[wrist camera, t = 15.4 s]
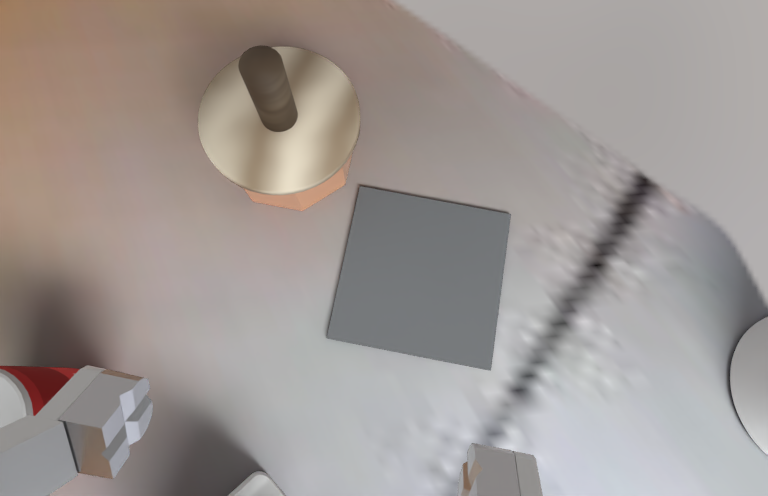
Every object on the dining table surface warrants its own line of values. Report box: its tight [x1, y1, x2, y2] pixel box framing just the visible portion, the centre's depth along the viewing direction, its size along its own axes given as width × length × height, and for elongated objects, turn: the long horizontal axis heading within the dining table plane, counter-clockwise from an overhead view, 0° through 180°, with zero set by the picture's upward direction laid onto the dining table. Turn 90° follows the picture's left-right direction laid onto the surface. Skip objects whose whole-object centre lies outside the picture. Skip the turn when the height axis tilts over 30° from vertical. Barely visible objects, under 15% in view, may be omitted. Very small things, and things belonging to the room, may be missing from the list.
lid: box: [198, 46, 360, 195], centre depth 38 cm, size 14×14×8 cm
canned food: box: [0, 366, 80, 428], centre depth 36 cm, size 8×8×11 cm
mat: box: [327, 186, 511, 370], centre depth 45 cm, size 15×15×1 cm
